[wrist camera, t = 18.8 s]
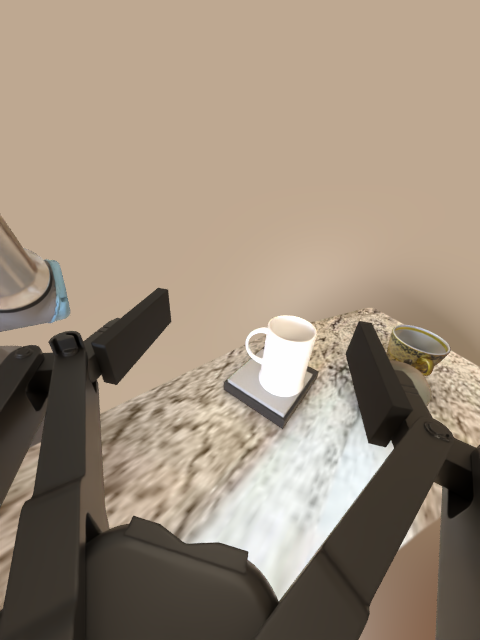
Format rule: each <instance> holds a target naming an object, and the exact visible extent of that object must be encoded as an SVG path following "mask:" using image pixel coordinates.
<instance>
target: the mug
mask: <svg viewBox="0 0 480 640" xmlns="http://www.w3.org/2000/svg"><path fill="white" fill-rule="evenodd" d="M257 333H265V334H266V340H265V346H264V353H263V358H260V357H257V356H256V355H255V354H253V353H252V351H251V350H250V348H249V344H248V342H249V339H250V337H251V336H252V335H254V334H257ZM316 337H317V330H316V328H315V327H314V326H313V325H312V324H311V323H310V322H308V321H307V320H304V319H302V318H299V317H296V316H289V315H282V316H277V317H274V318H273V319H271V320H270V321H269V323H268V327H263V328H257V329H255V330H253V331H252V332H251V333H250V334H249V335H248V337H247V339H246V349H247V352H248V354H249V355H250V356H251V357H252V358H253V359H254V360H255V361H256V362H258V363H260V364H261V370H260V372H259V381H260V384H261V385H262V387H263V388H264V389H265V390H267V391H268V392H269V393H271V394H273V395H276V396H280V397H291V396H294V395H296V394H298V393H299V392H300V391H301V390H302V388H303V385H304V377H305V374H306V370H307V367H308V363H309V360H310V357H311V353H312V350H313V347H314V343H315V340H316Z"/></svg>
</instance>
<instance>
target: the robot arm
mask: <svg viewBox="0 0 480 640" xmlns="http://www.w3.org/2000/svg"><path fill="white" fill-rule="evenodd" d="M69 314H70V307H69V302H68V298H67V293H66V288H65V284H64V280H63V276H62V272H61V268H60V265H59V263H58V262H57V261H55V260H47V259H46V260H43V259H42V258H41V257H40V256H38V255H37V254H36V253H34V252H32V251H30V250H28V249H26V248H23V247H22V246H21V244H20V243H19V241H18V240H17V238H16V237H15V235H14V234H13V232H12V231H11V229H10V228H9V226H8V225H7V223H6V222H5V220H4V219H3V217H2V216H1V214H0V332H2V331H7V330H12V329H17V328H22V327H28V326H33V325H38V324H43V323H52V322H54V321H57V320H62V319H65V318H67V317H68V316H69ZM170 322H171V315H170V305H169V295H168V290H167V289H161V288H157V289H156V290H155V291H154V292H153V293H151V294H150V295H149V296H148V297H146V298H145V299H144V300H143V301H141V302H140V303H139V304H138V305H137V306H135V307H134V308H133V309H132V310H131V311H129V312H128V313H127V314H125V315H124V316H123V317H122V318H121V319H120V318H116V319H114V320H111V321H109V322H108V323H107V324H105V325H104V326H103V327H102V328H100V329H99V330H98V331H97V332H95V333H94V334H92V335H91V336H90V337H89V338H87V339H86V340H85V341H83V340H82V338H81V335H80V333H78V332H76V331H67V332H63V333H59V334H57V335H56V336H54V337H52V338H51V339H50V341H49V344H50V346H51V349H52V351H53V353H42V351H41V349H40V348H39V347H38V346H36V345H29V346H23V347H20V348H18V349H16V350H14V351H12V352H11V353H8V352H7V351H6V350H4V349H3V348H1V347H0V507H1V505H2V503H3V501H4V499H5V497H6V495H7V493H8V490H9V488H10V486H11V484H12V482H13V480H14V478H15V476H16V474H17V472H18V470H19V468H20V465H21V463H22V461H23V459H24V457H25V455H26V453H27V451H28V449H29V447H30V445H31V443H32V441H33V438H34V436H35V434H36V432H37V430H38V428H39V426H40V424H41V422H42V420H43V418H44V416H45V421H44V427H43V434H42V440H41V447H40V453H39V460H38V467H37V473H36V480H35V486H34V492H33V496H32V498H31V499H29V500H28V501H26V502H25V503H24V505H23V507H22V510H21V513H20V518H19V524H18V529H17V535H16V540H15V546H14V551H13V557H12V562H11V568H10V573H9V579H8V584H7V590H6V595H5V601H4V606H3V609H2V610H1V611H0V640H358V639H359V637H360V635H361V633H362V631H363V629H364V627H365V625H366V623H367V620H368V617H369V606H370V603H371V601H372V599H373V597H374V595H375V593H376V591H377V589H378V587H379V585H380V584H381V582H382V580H383V578H384V576H385V574H386V572H387V570H388V568H389V566H390V564H391V562H392V561H393V559H394V557H395V555H396V553H397V551H398V549H399V547H400V545H401V544H402V542H403V540H404V538H405V536H406V534H407V532H408V530H409V528H410V526H411V524H412V523H413V521H414V519H415V517H416V515H417V513H418V511H419V509H420V507H421V505H422V503H423V502H424V500H425V498H426V496H427V494H428V492H429V490H430V488H431V486H432V484H433V482H435V483H437V484H439V485H441V486H442V506H441V530H440V552H439V573H438V596H437V618H436V640H480V445H479V446H478V447H477V448H475V447H473V446H471V445H469V444H466V443H464V442H462V441H460V440H457V439H455V438H454V437H453V435H452V433H451V432H450V431H449V429H448V428H447V427H446V426H444V425H443V424H442V423H440V422H439V421H437V420H435V419H433V418H432V416H431V414H430V413H429V411H428V409H427V407H426V405H425V403H424V401H423V400H422V398H421V396H420V395H419V392H418V390H417V389H416V388H415V385H414V383H413V381H412V379H411V378H410V377H409V376H408V375H407V374H406V373H405V372H404V371H400V370H395V369H393V367H392V365H391V362H390V360H389V358H388V356H387V354H386V352H385V350H384V348H383V346H382V344H381V342H380V340H379V338H378V335H377V333H376V331H375V329H374V327H373V325H372V323H368V322H362V321H359V322H358V325H357V327H356V330H355V332H354V335H353V337H352V339H351V342H350V344H349V347H348V349H347V352H346V357H347V361H348V365H349V369H350V373H351V377H352V381H353V385H354V389H355V392H356V396H357V400H358V404H359V408H360V412H361V416H362V420H363V424H364V428H365V431H366V435H367V439H368V443H370V444H374V445H378V446H383V447H386V446H387V445H388V443H389V442H390V441H392V444H393V446H394V449H393V451H392V452H391V453H390V455H389V456H388V457H387V458H386V460H385V461H384V463H383V464H382V465H381V467H380V468H379V469H378V471H377V472H376V473H375V475H374V476H373V477H372V479H371V480H370V481H369V483H368V484H367V485H366V487H365V488H364V489H363V491H362V492H361V493H360V495H359V496H358V497H357V499H356V500H355V501H354V503H353V504H352V505H351V507H350V508H349V509H348V511H347V512H346V513H345V515H344V516H343V517H342V519H341V520H340V521H339V523H338V524H337V525H336V527H335V528H334V529H333V531H332V532H331V533H330V535H329V536H328V537H327V539H326V540H325V541H324V543H323V544H322V545H321V547H320V548H319V549H318V551H317V552H316V553H315V555H314V556H313V557H312V559H311V560H310V561H309V563H308V564H307V565H306V566H305V568H304V569H303V570H302V572H301V573H300V574H299V576H298V577H297V578H296V580H295V581H294V582H293V584H292V585H291V586H290V588H289V589H288V590H287V592H286V593H285V594H284V596H283V597H282V598H281V600H280V601H279V602H278V599H277V597H276V595H275V593H274V591H273V589H272V587H271V585H270V584H269V582H268V581H267V579H266V578H265V576H264V575H263V574H262V573H261V571H260V570H259V569H258V568H257V567H256V566H255V565H254V564H252V563H251V562H250V561H248V560H247V558H248V551H244V550H241V549H238V548H235V547H232V546H228V545H225V544H222V543H219V542H218V543H195V544H186V543H184V542H182V541H181V540H180V539H178V538H177V537H176V536H175V535H173V534H172V533H171V532H169V531H168V530H167V529H166V528H164V527H163V526H162V525H160V524H158V523H155V522H152V521H148V520H145V519H142V518H139V517H136V516H133V517H132V520H131V522H130V524H125V525H120V526H117V527H114V528H111V529H109V524H108V519H107V515H106V510H105V497H104V479H103V461H102V443H101V425H100V408H99V389H98V382H97V379H98V378H99V376H100V375H101V374H102V377H103V380H104V382H106V383H111V384H115V385H117V384H118V383H119V382H120V381H121V379H122V378H123V377H124V376H125V375H126V374H127V372H128V371H129V370H130V369H131V368H132V367H133V365H134V364H135V363H136V362H137V361H138V360H139V359H140V357H141V356H142V355H143V354H144V353H145V351H146V350H147V349H148V348H149V347H150V346H151V345H152V343H153V342H154V341H155V340H156V339H157V338H158V336H159V335H160V334H161V333H162V332H163V331H164V329H165V328H166V327H167V326H168V325H169V324H170ZM45 413H46V414H45Z"/></svg>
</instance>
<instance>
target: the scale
mask: <svg viewBox="0 0 480 640" xmlns="http://www.w3.org/2000/svg"><path fill="white" fill-rule="evenodd" d="M263 353H264V347H263V348H262V349H261V350H260V351H259V352H258V353H256V354H255V355H256V356H257V357H260V358H263ZM260 370H261V364H260V363H258V362H256V361H255V360H254V359H253V358H251V359H250V360H248V361H247V362H246V363H245V364H244V365H243V366H242V367H241V368H239V369H238V370H237V371H236V372H235V373H234V374H233V375H231V376H230V377H229V378H228V379H227V380H226V381H225V382H224V390H226V391H227V392H229V393H230V394H232V395H233V396H235V397H236V398H238V399H239V400H241V401H242V402H244V403H245V404H246V405H248V406H249V407H251V408H252V409H254V410H255V411H257V412H258V413H260V414H261V415H263V416H264V417H266V418H267V419H269V420H270V421H272V422H273V423H275V424H276V425H278V426H279V427H281V428H282V429H283V427H284V426H285V424H286V423H287V421H288V420H289V418H290V417H291V415H292V414H293V413H294V411H295V410H296V408H297V407H298V405H299V404H300V402H301V401H302V399H303V398H304V396H305V395H306V393H307V392H308V390H309V389H310V387H311V386H312V384H313V383H314V381H315V380H316V378H317V375H318V371H316V370H314V369H312V368H310V367H307V370H306V374H305V377H304V385H303V388H302V390H301V391H300V392H299V393H298V394H296V395H294V396H291V397H280V396H276V395H273V394H271V393H269V392H268V391H267V390H265V389H264V388H263V387H262V385H261V384H260V381H259V372H260Z"/></svg>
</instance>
